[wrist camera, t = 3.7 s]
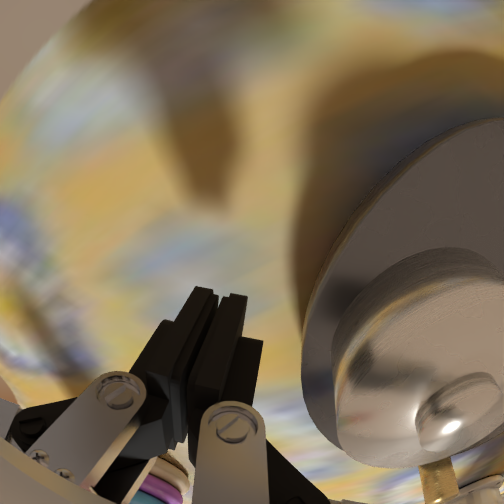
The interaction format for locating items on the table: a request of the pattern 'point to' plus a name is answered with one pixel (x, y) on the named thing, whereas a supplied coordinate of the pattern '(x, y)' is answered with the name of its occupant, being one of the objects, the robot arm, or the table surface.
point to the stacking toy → (162, 485)
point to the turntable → (408, 253)
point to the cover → (421, 360)
